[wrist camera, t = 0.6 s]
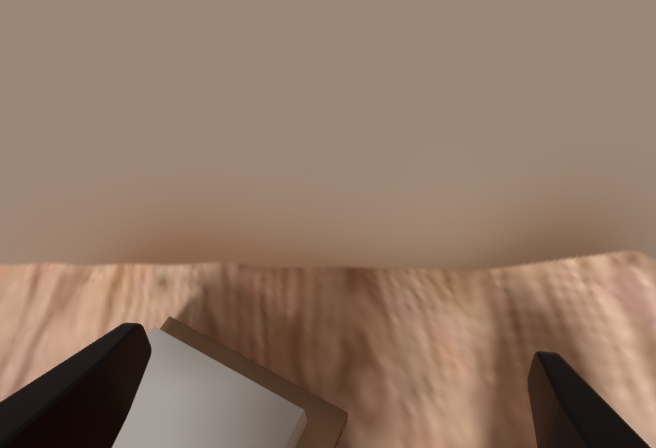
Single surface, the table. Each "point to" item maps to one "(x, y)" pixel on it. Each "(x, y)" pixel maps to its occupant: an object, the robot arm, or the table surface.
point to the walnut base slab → (271, 387)
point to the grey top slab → (204, 405)
